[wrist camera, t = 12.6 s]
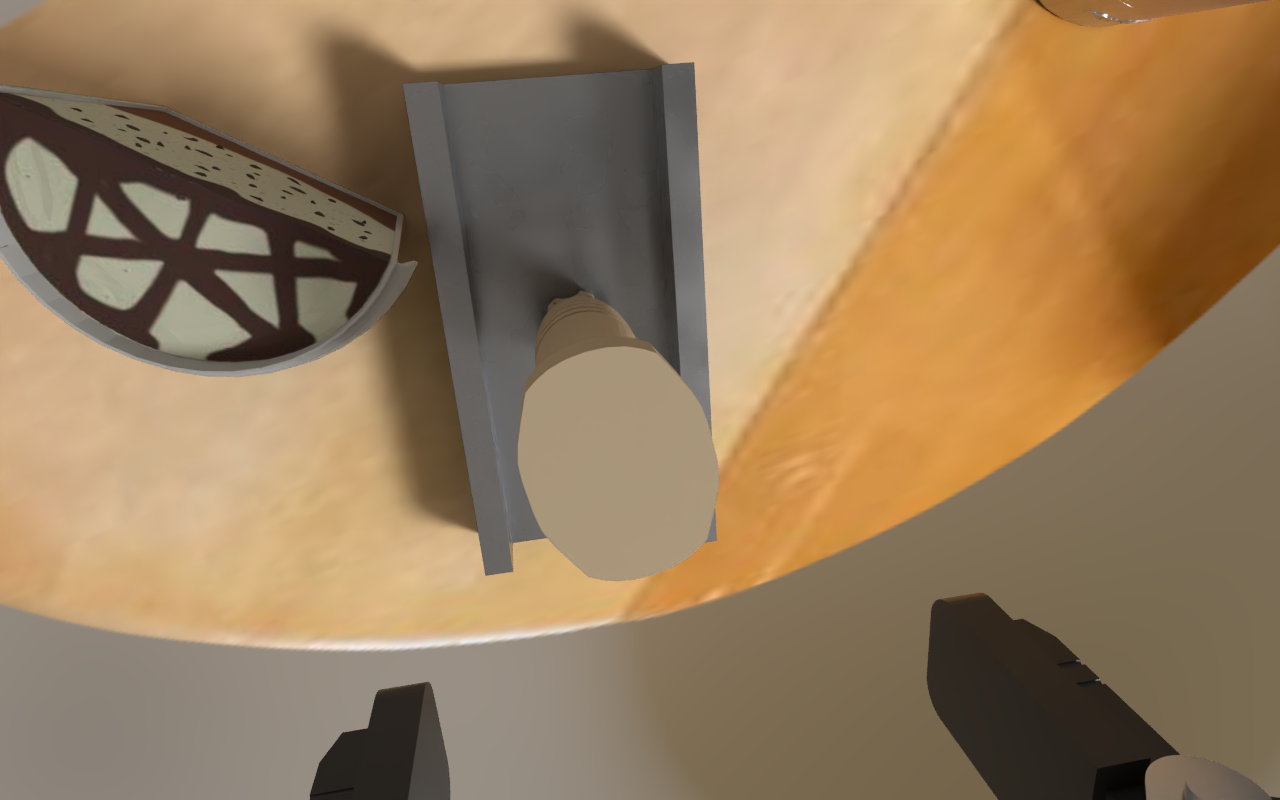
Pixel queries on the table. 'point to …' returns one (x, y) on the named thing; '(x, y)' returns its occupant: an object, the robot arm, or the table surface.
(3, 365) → the table surface
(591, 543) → the handle
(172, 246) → the food container
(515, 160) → the track
